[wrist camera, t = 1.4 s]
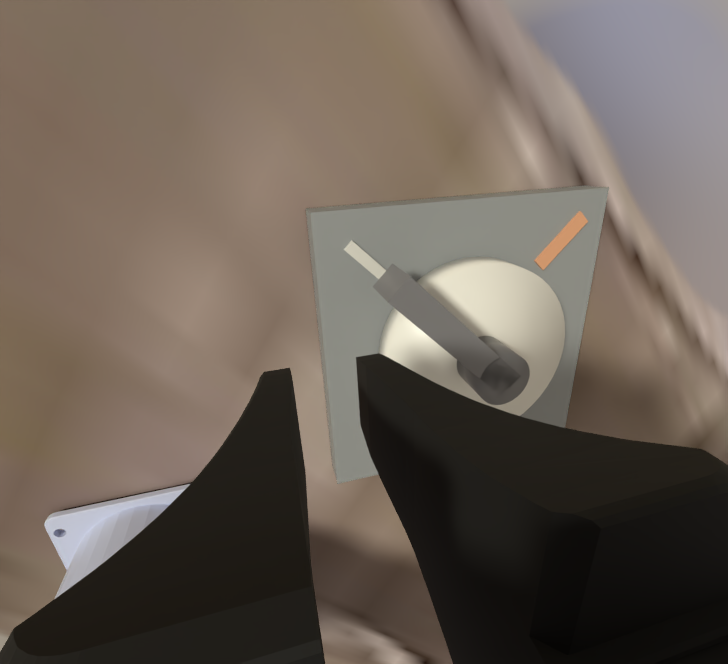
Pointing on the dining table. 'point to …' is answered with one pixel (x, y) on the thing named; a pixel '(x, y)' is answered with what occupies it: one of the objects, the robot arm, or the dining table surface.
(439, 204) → the dial plate
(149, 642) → the robot arm
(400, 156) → the dining table surface
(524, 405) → the dial
